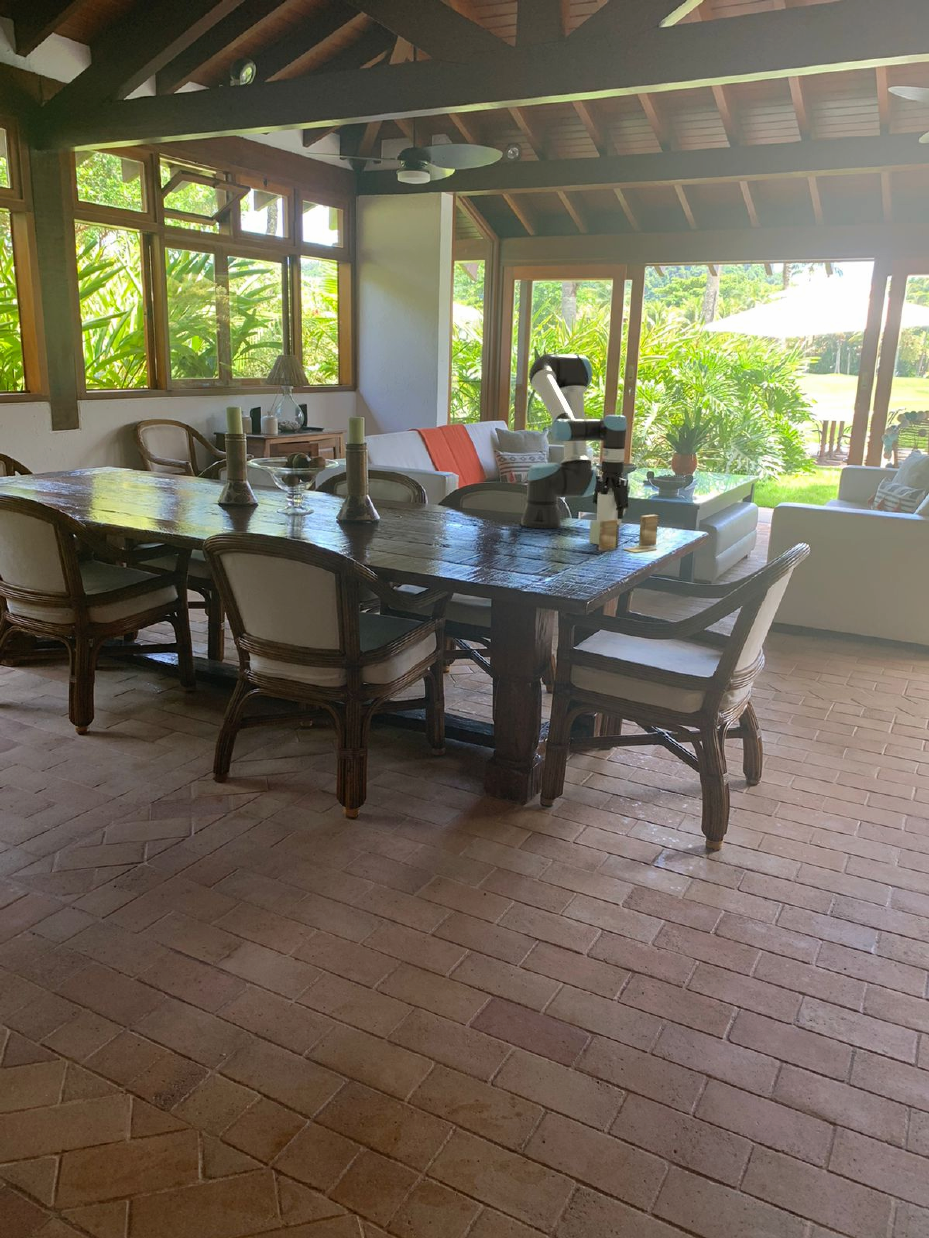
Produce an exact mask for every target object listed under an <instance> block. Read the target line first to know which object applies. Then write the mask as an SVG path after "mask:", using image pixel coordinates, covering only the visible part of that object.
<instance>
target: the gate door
mask: <svg viewBox="0 0 929 1238" xmlns="http://www.w3.org/2000/svg"><path fill="white" fill-rule="evenodd" d="M589 524H590V525H589V536H588V538H589V540H588V543H590V544H595V545H599V535H600V521H597V520H590V523H589ZM619 526H620V524H617V531H616V546H615V549H619V540H620V539H619V537H620V528H619Z"/></svg>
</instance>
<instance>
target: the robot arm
mask: <svg viewBox="0 0 929 1238" xmlns="http://www.w3.org/2000/svg"><path fill="white" fill-rule="evenodd" d="M528 373H529V374H528V379H529V382H530V385H531V387H532V388H533V390H534V391H536V392H537V394H538V396H539V397H540V399H541V401H542V403H543V405H544V406H545V409H546V410H547V413H548V415H549V416H550V419H551V421H552V423H551V427H550V428H551V429H550V432H551V438H552V439H553V440H554V441H556V442H557V441H560V442H562V443H563V460H561V462H560V463H558V462H552V461H551V462H541V463H536V464H532V465H531V466H529V468H528V472H527V477H526V480H527V486H526V487H527V488H526V489H527V490H526V506H525V508H524V511H523V515H522V517H521V519H520V520H521V526H522V527H526V528H532V529H542V530H543V529H545V530H547V529H556V528H560V527H561V526H562V519H561V515H560V511H559V507H558V500H559V498H586V497H590V496H592V495H593V498H592V503H593V504H596V506H597V499H598V493H599V492H601V494H604V495H607V493H608V492H609V491H610V489H611V491H612V493H614V497H615V502H616V509H615V520H617V524H620V526H619V529H621V528H622V522H623V521H622V520H623V518H624V515H623V510H624V509H625V508H626V509H628V508H629V494H628V493H629V492H628V483H629V480H628V479H624V478H623V476H622V474H623V472H624V465H625V464H624V463H625V462H624V460H625V449H626V448H625V447H626V436H627V435H626V434H627V427H628V426H627V417H626V416H625V415H623V414H606V415H605V416H604V418H600V417H599V418H598V417H597V418H586V416H585V413H586V412H585V399H584V397H585V396H584V395H585V393H586V392H587V390H588V386H590V384H591V383H592V379H593V378H592V377H593V368H592V364H591V362H590V360H589V358H588V357H587V355H586V356H585V354H584V355H583V354H576V353H570V354H569V353H568V354H567V353H566V354H565V353H546V354H543V355H541V356H539V357H538V358H536V359H535V360H534V362H533V363H532V364H531V366H530V369H529V372H528ZM595 441H597V442H602V455H601V459H602V461H601V469H600V470H601V472H602V474H599V472H598V468H597V467H596V466H594V465H592V460H591V459H590V458H589V457H588V453H587V451H588V449H587V442H595Z"/></svg>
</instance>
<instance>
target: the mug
mask: <svg viewBox="0 0 929 1238" xmlns="http://www.w3.org/2000/svg"><path fill="white" fill-rule="evenodd" d="M616 508H617V506H616V502H615V497H614V493H613V491H612V492H611V491H610V492H609V491H608V493H607V495H604V494H601V492H599V493H598V499H597V505H596V521H602V520H610V519H613V520H615V509H616ZM626 510H627V508H625V509H624V510H623V516H625V513H626Z"/></svg>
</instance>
